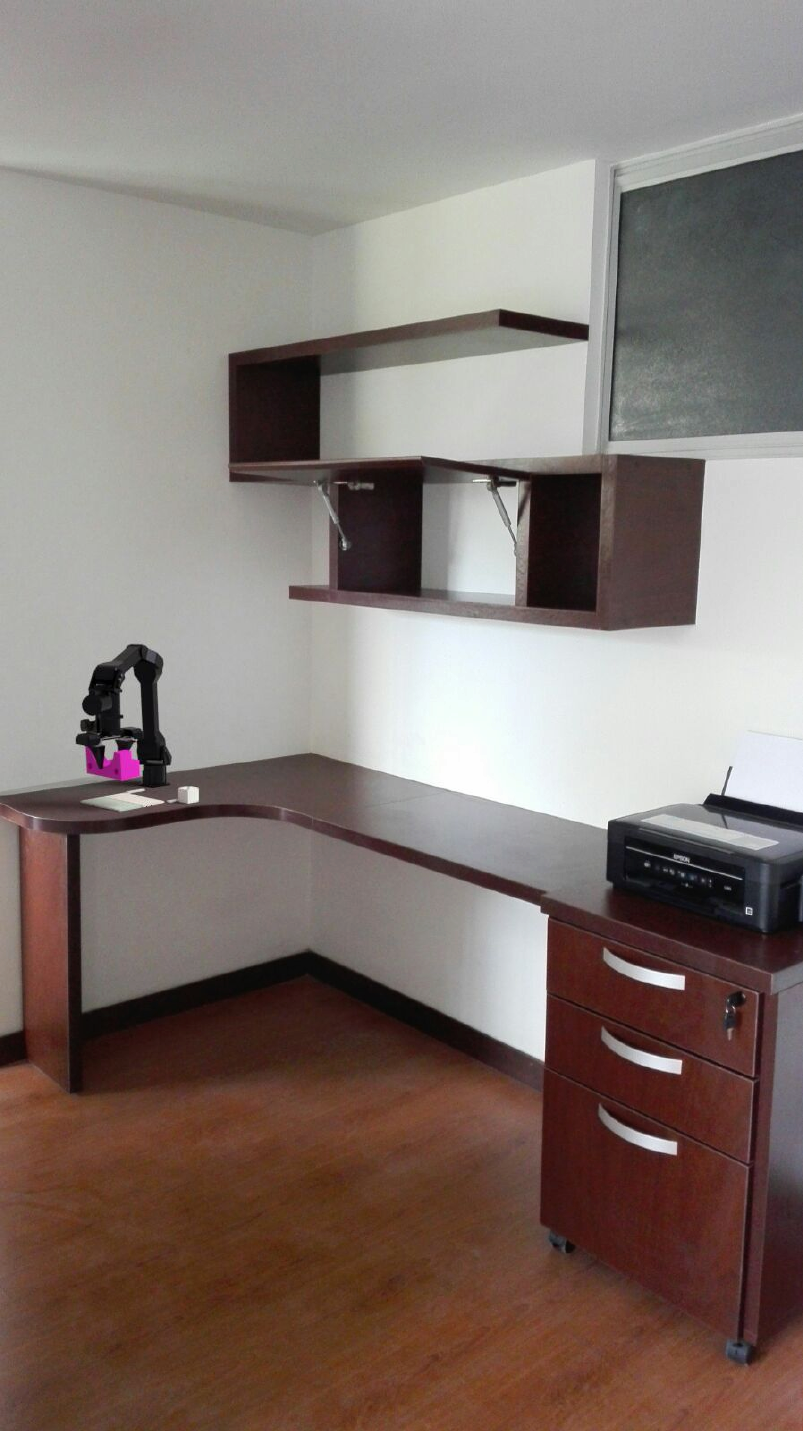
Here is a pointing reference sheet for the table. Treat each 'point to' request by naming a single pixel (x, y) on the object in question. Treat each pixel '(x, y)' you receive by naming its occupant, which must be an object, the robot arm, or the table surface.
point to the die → (188, 794)
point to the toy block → (114, 765)
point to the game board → (124, 801)
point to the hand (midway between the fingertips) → (110, 767)
